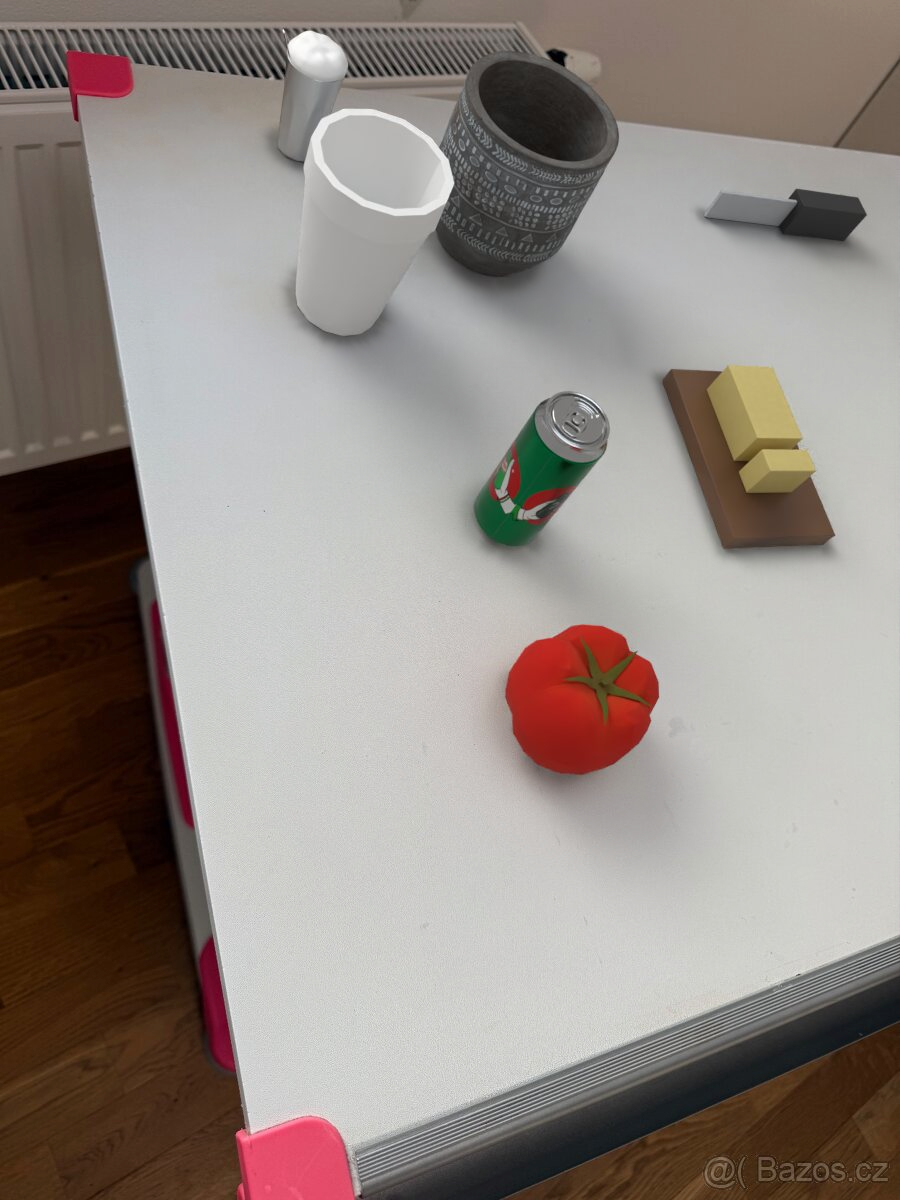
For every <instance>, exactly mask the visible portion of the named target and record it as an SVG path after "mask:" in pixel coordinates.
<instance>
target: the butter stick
mask: <svg viewBox="0 0 900 1200" xmlns="http://www.w3.org/2000/svg"><path fill="white" fill-rule="evenodd" d="M722 371H723V372H722V373H721V374H720V375H719V376H718V377H717V378H716V379H715V381H714V382H713V383H712V384H711V385H710V386H709V387H708V388H707V392H708V395H709V397H710V400H711V402H712V405H713V408H714V410H715V413H716V415H717V418H718V421H719V423H720V426H721V428H722V431H723V434H724V436H725V439H726V441H727V444H728V446H729V449H730V452H731V454H732V457H733V459H734V461H751V460H752V459H753V458H754V457H755V456H756V455H757V454H758V453H759V452H760V451H761V450H763V449H775V450H791V449H792V448H793V447H794V446H795V445H796V444H797V445H798V444H799V443H800V442H802V440H803V439H804V438H803V435H802V433H801V431H800V428H799V425H798V423H797V420H796V418H795V416H794V414H793V412H792V410H791V407H790V405H789V402H788V399H787V397H786V395H785V393H784V391H783V388H782V386H781V384H780V381H779V379H778V376H777V373H776V372H775V369H774V367H773V366H758V365H757V366H756V365H738V364H737V365H734V364H728V365H727V366H726V367H725V368H724V369H723V370H722Z"/></svg>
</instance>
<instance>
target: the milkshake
mask: <svg viewBox="0 0 900 1200" xmlns="http://www.w3.org/2000/svg"><path fill="white" fill-rule="evenodd" d="M282 33H283V38H284V42H285V46H286V59H285V69H284V70H285V71H284V78H283V79H284V81H283V82H284V83H283V91H282V99H281V108H280V116H279V124H278V125H279V126H278V130H277V131H278V132H277V149H278V150H280V152H281V153H282V154H283V155H284V156H285V157H287V158H289V159H291V160H294V161H295V162H305V159H306V155H307V151H308V147H309V143H310V139H311V137H312V135H313V133H314V131H315V129H316V128H317V126H318V124H319V122H320V120H321V119H322V118H324V117H326V116H329V115H331V114H332V112H333V109H334V106H335V103H336V100H337V98H338V96H339V93H340V90H341V89H342V88H341V87H342V85H343V83H344V80H345V77H346V75H347V72H348V68H349V62H348V58H347V56H346V54H345V53H344V51H343V48H342V47H341V45H340V44H338V43H336V42H335V41H334V40H332V38H331V37H330V36H328V35H326V34H322V33H318V32H316V31H314V30H306V31H303V32H301V33H299V34H298V35H296V36H295V37H293V38H292V39H290V40H289V42H288V41H287V37H286V32H285V30H284V29H282Z"/></svg>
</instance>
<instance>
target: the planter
mask: <svg viewBox="0 0 900 1200" xmlns="http://www.w3.org/2000/svg"><path fill="white" fill-rule="evenodd" d="M619 141H620V131H619V126H618V123H617V120H616V118H615V116H614V113H613V112H612V110H611V109H610V107H609V105H608V104H607V103H606V102H605V100H604V99H603V98H602V97H601V96H600V94H598V92H596V90H595V89H594V88H593V87H592V86H591V85H589V84H588V83H587V82H586V81H585V80H583V79H582V78H581V77H579V76H578V75H577V74H575V72H572V71H571V70H570V69H568V68H566V67H565V66H564V65H561V64H560V63H559V62H556V61H554V60H551V59H549V58H546V57H543V56H540V55H537V54H533V53H529V52H524V51H516V50H499V51H493V52H490V53H487V54H485V55H483V56H482V57H480V58H479V59H477V60H476V61H475V62H474V63H473V64H472V65H471V67H470V68H469V71H468V73H467V75H466V77H465V80H464V83H463V86H462V88H461V91H460V93H459V95H458V97H457V100H456V103H455V105H454V108H453V110H452V112H451V115H450V118H449V120H448V123H447V126H446V128H445V131H444V134H443V137H442V140H441V142H440V144H439V146H438V147H439V149H440V150H441V151H442V152H443V154H444V155H445V156H446V157H447V159H448V160H449V164H450V168H451V172H452V176H453V180H454V185H453V188H452V190H451V193H450V195H449V198H448V200H447V203H446V205H445V207H444V210H443V212H442V215H441V217H440V219H439V222H438V224H437V227H436V229H435V232H436V236H437V239H438V240H439V242H440V244H441V246H442V248H443V249H444V250H445V251H446V253H447V254H448V255H449V256H450V257H451V258H452V259H453V260H455V261H456V262H457V263H458V264H459V265H461V266H462V267H464V268H466V269H467V270H470V271H472V272H474V273H477V274H479V275H481V276H482V275H483V276H487V277H493V278H497V277H498V278H503V277H509V276H512V275H515V274H519V273H521V272H524V271H527V270H528V269H531V268H533V267H536V266H538V265H541V264H542V263H543V262H545V261H547V260H549V259H551V258H552V257H554V256H556V254H557V253H558V252H559V251H560V250H561V248H562V247H563V245H564V244H565V242H566V240H567V239H568V237H569V236H570V234H571V232H572V230H573V229H574V227H575V225H576V223H577V221H578V219H579V217H580V215H581V213H582V212H583V210H584V209H585V207H586V204H588V202H589V200H590V198H591V196H592V195H593V193H594V192H595V190H596V187H597V186H598V185H599V182H600V180H601V179H602V176H603V175H604V173H605V171H606V169H607V167H608V165H609V164H610V163H611V160H612V159H613V157H614V155H615V154H616V151H617V149H618V146H619Z"/></svg>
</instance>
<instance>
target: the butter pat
mask: <svg viewBox="0 0 900 1200" xmlns="http://www.w3.org/2000/svg"><path fill="white" fill-rule="evenodd" d="M812 459H813V458H812V457H811V454H810V452H809V450H808V449H799V450H775V449H763V450H761V451H760V452H759V453H758V454H757V455H756V456H755V457H754V458H753V459H752V460H751V461H750V462H748V463H747V464H746V465H745V466H744V467H743V468H742V469H741V470H740V471H739V474H740V477H741V480H742V482H743V485H744V487H745V490H746V492H747V493H779V492H792V491H793V490H794V489H796V488H797V487H798V486H799V485H800V484H802V483H803V482H804V481H805V480H806V479H807V478H809V477H810V476H811V477H812V475H814V474H815V473H816V472H817V468H816V465H815V464H814V462H813V460H812Z"/></svg>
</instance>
